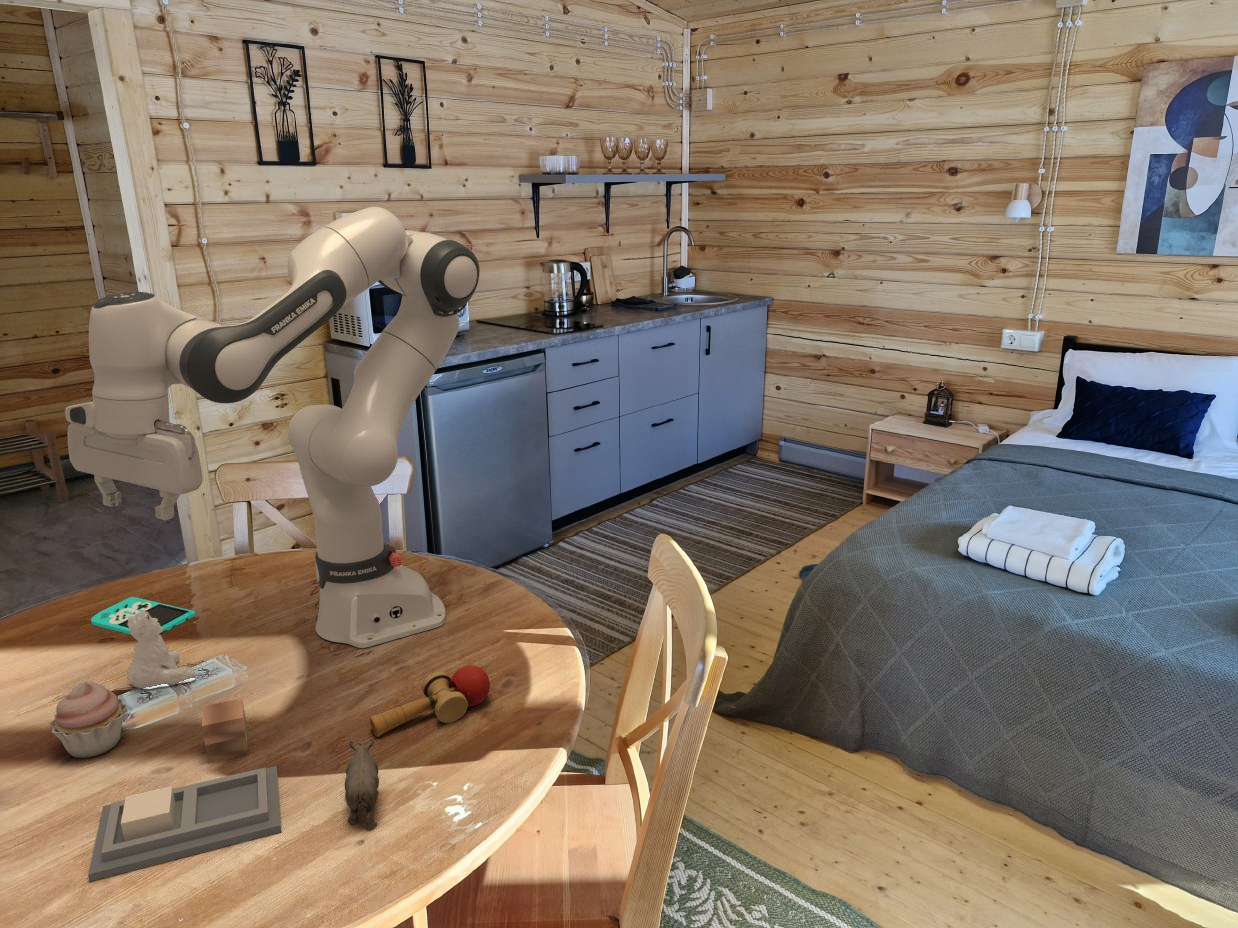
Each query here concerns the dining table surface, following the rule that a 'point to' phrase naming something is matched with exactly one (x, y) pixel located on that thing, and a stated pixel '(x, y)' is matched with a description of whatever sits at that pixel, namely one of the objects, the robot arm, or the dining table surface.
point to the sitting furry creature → (153, 655)
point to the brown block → (225, 730)
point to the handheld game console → (121, 611)
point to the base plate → (185, 821)
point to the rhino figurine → (362, 784)
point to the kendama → (439, 698)
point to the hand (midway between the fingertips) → (138, 511)
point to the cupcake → (89, 720)
